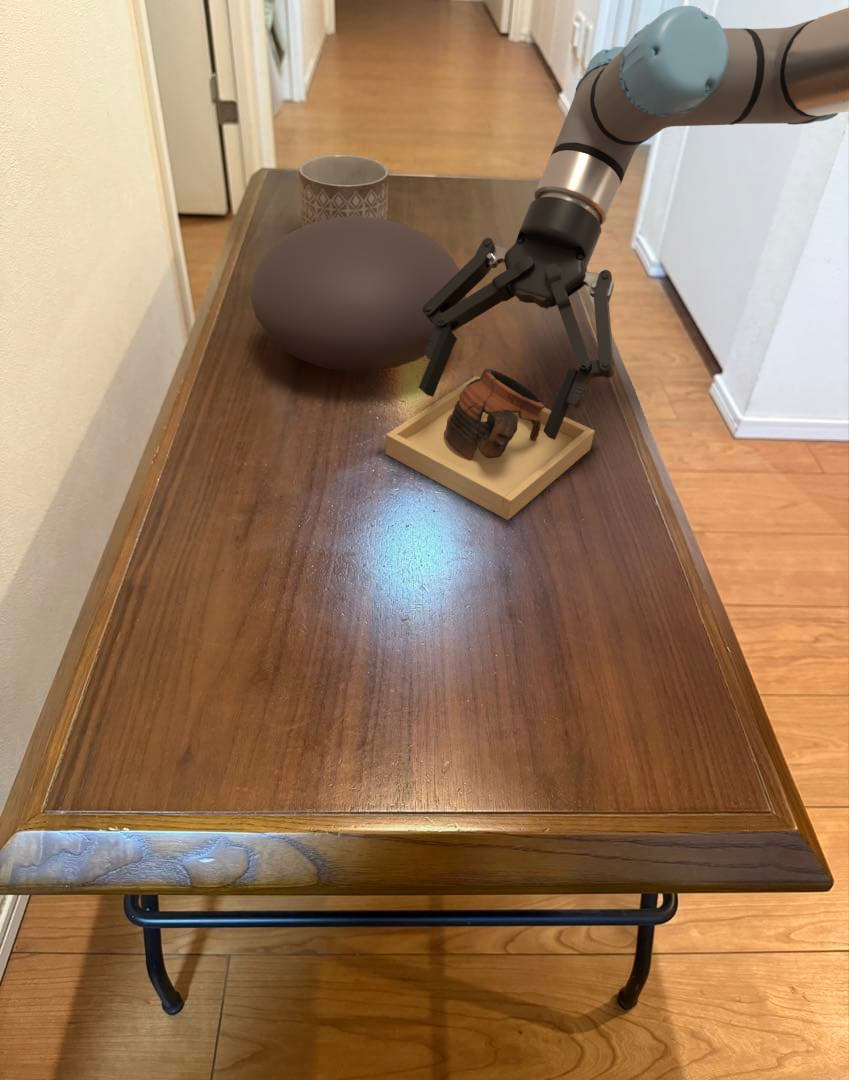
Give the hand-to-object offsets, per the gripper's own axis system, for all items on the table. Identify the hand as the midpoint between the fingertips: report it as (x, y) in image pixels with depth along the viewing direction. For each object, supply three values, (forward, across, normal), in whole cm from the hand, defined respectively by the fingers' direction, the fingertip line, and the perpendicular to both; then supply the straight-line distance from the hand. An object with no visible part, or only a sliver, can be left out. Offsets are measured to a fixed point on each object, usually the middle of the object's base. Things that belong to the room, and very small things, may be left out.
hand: (485, 413), depth 82 cm
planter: (-22, +41, -31) cm, 57 cm away
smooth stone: (-4, +23, -13) cm, 27 cm away
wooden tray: (+3, 0, -6) cm, 7 cm away
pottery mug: (+2, 0, -6) cm, 6 cm away
